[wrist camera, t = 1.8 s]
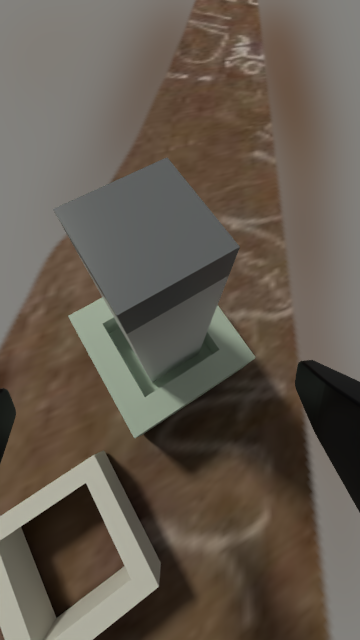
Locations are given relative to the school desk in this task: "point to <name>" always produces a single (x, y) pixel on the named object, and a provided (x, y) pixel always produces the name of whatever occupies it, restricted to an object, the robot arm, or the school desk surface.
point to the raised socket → (169, 390)
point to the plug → (153, 261)
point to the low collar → (104, 601)
